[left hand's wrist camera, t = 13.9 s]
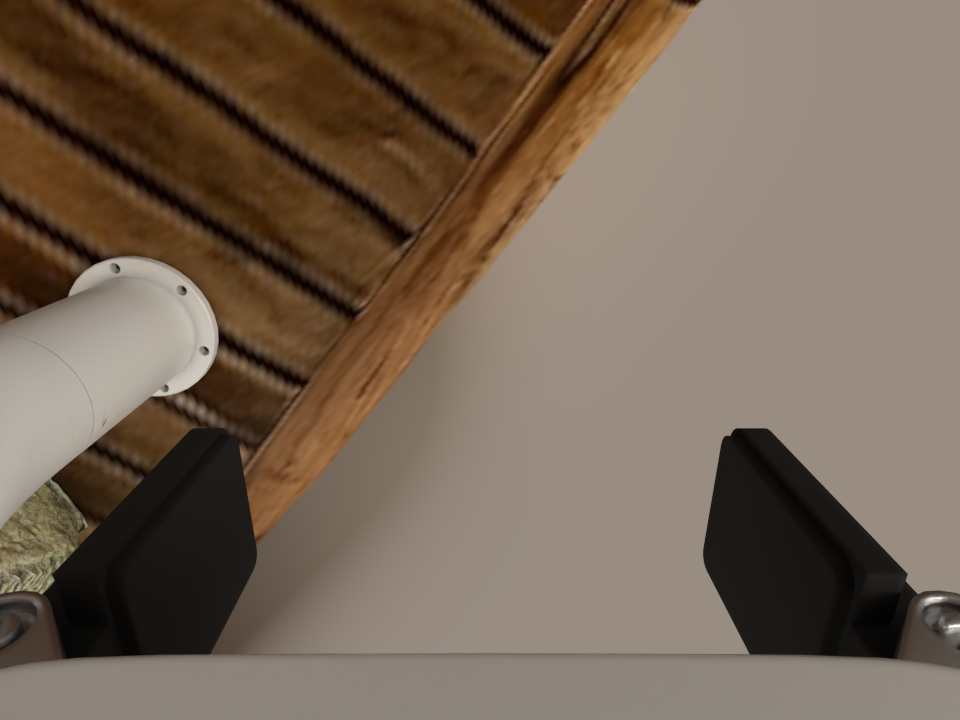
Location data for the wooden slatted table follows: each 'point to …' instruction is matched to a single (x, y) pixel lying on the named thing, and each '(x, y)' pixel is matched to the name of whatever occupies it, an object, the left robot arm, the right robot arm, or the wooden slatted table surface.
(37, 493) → the fossil
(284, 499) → the wooden slatted table surface
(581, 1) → the wooden slatted table surface
